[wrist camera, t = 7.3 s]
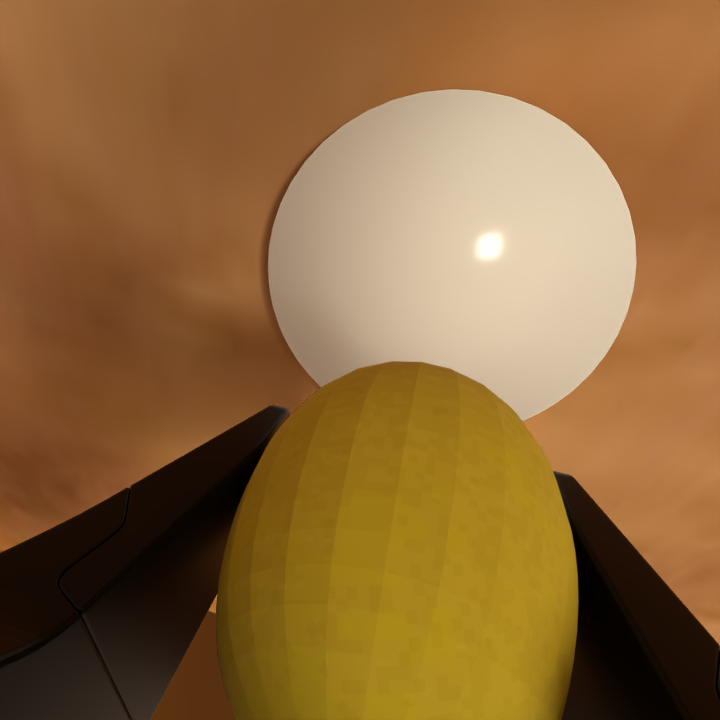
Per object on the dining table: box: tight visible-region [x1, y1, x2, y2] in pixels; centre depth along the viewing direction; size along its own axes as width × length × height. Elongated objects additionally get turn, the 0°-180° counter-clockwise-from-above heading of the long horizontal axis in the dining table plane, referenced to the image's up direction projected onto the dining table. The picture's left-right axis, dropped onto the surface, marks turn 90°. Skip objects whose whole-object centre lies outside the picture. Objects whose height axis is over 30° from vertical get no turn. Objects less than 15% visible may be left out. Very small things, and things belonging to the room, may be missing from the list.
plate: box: [268, 89, 636, 421], centre depth 17 cm, size 14×14×1 cm
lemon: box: [216, 361, 578, 720], centre depth 7 cm, size 6×6×8 cm
